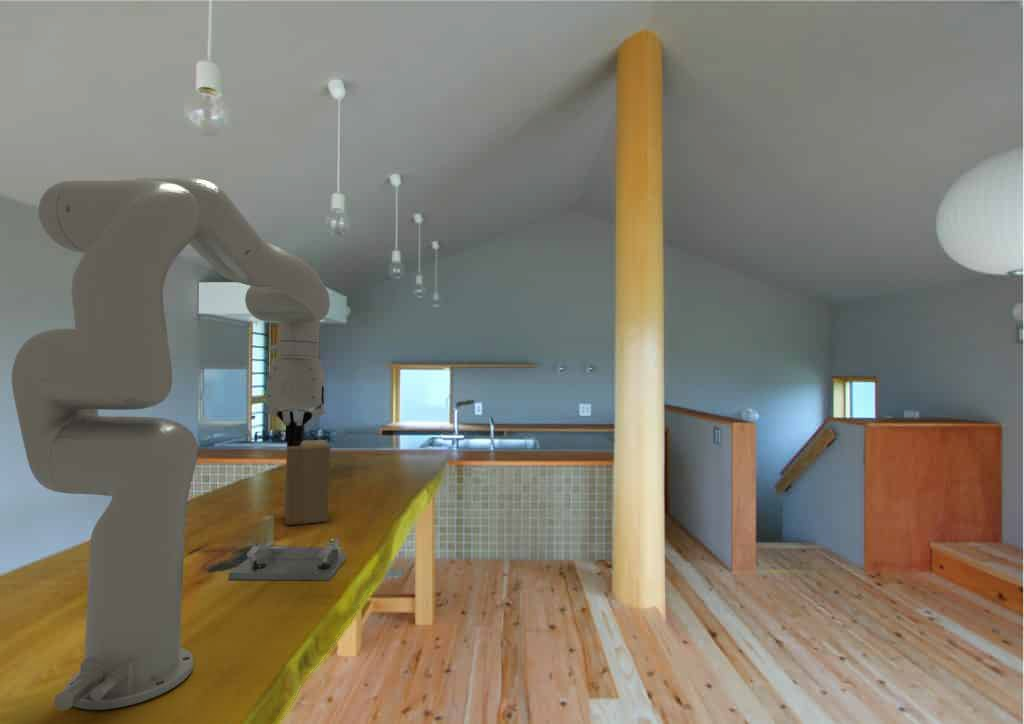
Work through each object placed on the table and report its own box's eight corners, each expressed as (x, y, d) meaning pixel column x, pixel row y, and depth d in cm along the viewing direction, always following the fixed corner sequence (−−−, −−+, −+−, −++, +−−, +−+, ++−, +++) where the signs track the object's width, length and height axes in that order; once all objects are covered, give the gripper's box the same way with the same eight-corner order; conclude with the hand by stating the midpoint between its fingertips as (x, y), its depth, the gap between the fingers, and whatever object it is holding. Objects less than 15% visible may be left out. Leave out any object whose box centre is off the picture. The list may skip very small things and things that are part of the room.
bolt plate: (329, 580, 99) (330, 553, 99) (228, 579, 98) (229, 552, 98) (346, 558, 111) (347, 534, 111) (256, 557, 110) (257, 533, 110)
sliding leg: (255, 567, 100) (257, 526, 101) (245, 567, 100) (247, 526, 100) (273, 553, 109) (274, 515, 109) (263, 553, 109) (265, 515, 109)
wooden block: (283, 516, 143) (286, 440, 143) (324, 513, 147) (326, 439, 148) (285, 526, 134) (288, 444, 134) (328, 522, 138) (331, 443, 138)
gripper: (251, 349, 103) (246, 447, 102) (331, 351, 103) (327, 448, 102) (267, 352, 110) (263, 443, 109) (342, 354, 111) (338, 444, 110)
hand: (294, 445), depth 106 cm, fingers closed
